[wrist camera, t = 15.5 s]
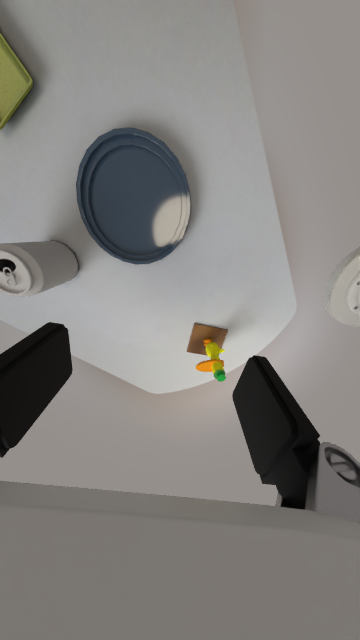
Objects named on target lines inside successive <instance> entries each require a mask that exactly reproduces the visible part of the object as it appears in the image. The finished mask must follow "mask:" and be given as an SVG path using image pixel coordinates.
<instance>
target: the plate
mask: <svg viewBox="0 0 360 640" xmlns="http://www.w3.org/2000/svg"><path fill="white" fill-rule="evenodd" d="M76 188H77V203H78V206H79V210H80V214H81V217H82V220H83V222H84V224H85V226H86V228H87V230H88V232H89V233H90V235H91V236H92V237H93V239H94V240H95V241H96V242H97V244H98V245H99V246H100V247H101V248H102V249H104V250H105V251H106V252H107V253H109V254H110V255H111V256H113V257H115V258H117V259H119V260H121V261H123V262H127V263H132V264H149V263H152V262H155V261H158V260H161V259H163V258H164V257H165V256H167V255H168V254H169V253H171V252H172V251H173V250H174V249H175V247H176V246H177V245H178V244H179V242H180V241H181V240H182V237H183V235H184V233H185V231H186V229H187V226H188V221H189V216H190V191H189V187H188V183H187V179H186V175H185V173H184V171H183V169H182V167H181V165H180V163H179V161H178V159H177V157H176V156H175V155H174V154H173V152H172V151H171V150H170V149H169V148H168V147H167V146H166V144H165V143H164V142H162V141H161V140H159V139H158V138H156V137H155V136H153V135H152V134H150V133H148V132H145V131H142V130H138V129H134V128H121V129H113V130H111V131H109V132H107V133H105V134H103V135H101V136H99V137H98V138H97V139H96V140H95V141H94V142H93V143H92V144H91V146H90V147H89V148H88V149H87V150H86V153H85V155H84V157H83V159H82V161H81V163H80V166H79V171H78V176H77V182H76Z"/></svg>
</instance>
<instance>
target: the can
mask: <svg viewBox="0 0 360 640" xmlns="http://www.w3.org/2000/svg"><path fill="white" fill-rule="evenodd" d="M77 271H78V264H77V260H76V258H75V256H74V254H73V253H72V252H71V251H70V249H69V248H68V247H66V246H65V245H63V244H62V243H59V242H56V241H43V242H24V243H4V244H0V291H2V292H4V293H6V294H10V295H17V296H33V295H36V294H38V293H41V292H43V291H45V290H48V289H50V288H53V287H55V286H58V285H60V284H62V283H65V282H67V281H70V280H72V279H73V278H74V277H75V276H76V274H77Z"/></svg>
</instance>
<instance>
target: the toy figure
mask: <svg viewBox="0 0 360 640" xmlns="http://www.w3.org/2000/svg"><path fill="white" fill-rule="evenodd" d="M211 341H212V339H204V342H205V343H204V346H206V353H207V355H208V356H209V357H211V360H207V361H203V362H200V363H199V364H198V365H197V366H196V369H197V370H199V371H203V372H212V371H213V374H214V377H215V378H216V379H217V380H218V381H224V380H225V378H226V377H225V371H224V369H223V367H224V362H223V360H220V359H219V357H218V355H219V353H221V352H224V351H225V350H223V349H221V348H220V347H219V346H218V345H217V343H215V342H211Z"/></svg>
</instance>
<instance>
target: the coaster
mask: <svg viewBox="0 0 360 640" xmlns="http://www.w3.org/2000/svg"><path fill="white" fill-rule="evenodd" d="M227 331H228V330H227V329H222V328H216V327H211V326H206V325H200V324H195V323H194V326H193V330H192V334H191V338H190V341H189V345H188V349H187V352H191V353H196V354H202V355H207V353H206V346H204V343H205V342H204V339H212V341H211V342H215V343H217V345H218V346H219V347H220V348H221V347H222V344H223V342H224V339H225V336H226V334H227Z"/></svg>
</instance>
